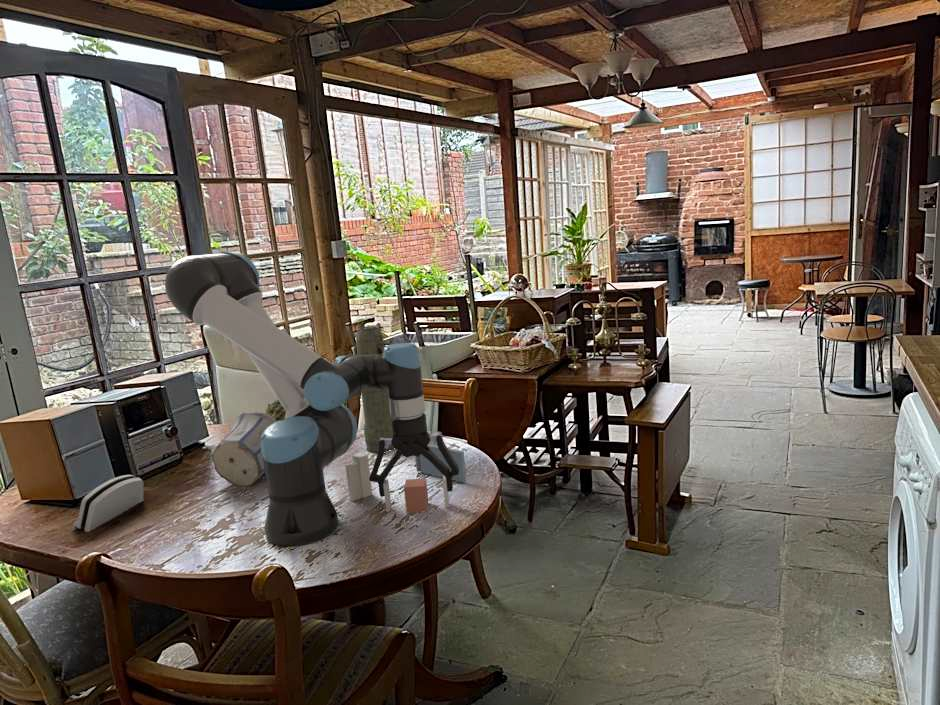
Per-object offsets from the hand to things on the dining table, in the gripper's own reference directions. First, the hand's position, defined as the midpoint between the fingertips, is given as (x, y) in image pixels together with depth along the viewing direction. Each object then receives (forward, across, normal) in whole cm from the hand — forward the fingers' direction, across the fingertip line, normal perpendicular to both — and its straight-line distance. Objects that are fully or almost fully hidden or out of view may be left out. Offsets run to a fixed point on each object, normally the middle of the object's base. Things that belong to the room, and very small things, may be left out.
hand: (418, 507), depth 148 cm
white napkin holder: (0, +73, -8) cm, 74 cm away
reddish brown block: (0, 0, 0) cm, 0 cm away
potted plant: (0, +44, -33) cm, 55 cm away
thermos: (0, +14, -42) cm, 45 cm away
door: (0, -4, -17) cm, 17 cm away
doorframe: (0, +6, -17) cm, 18 cm away
